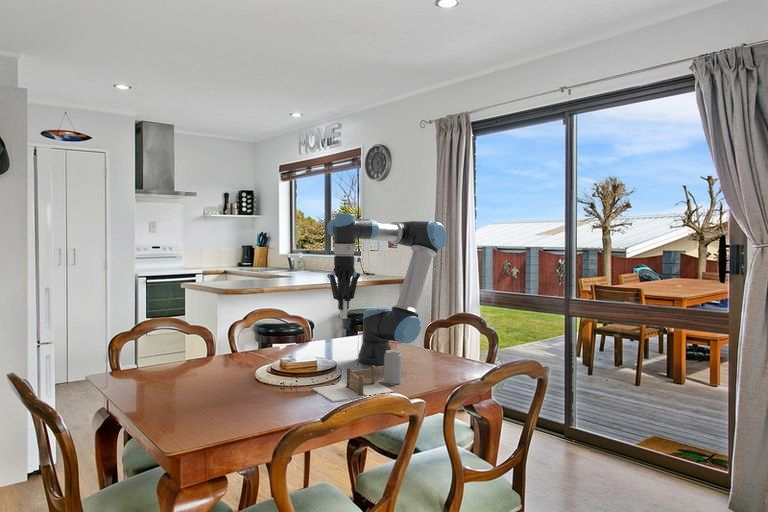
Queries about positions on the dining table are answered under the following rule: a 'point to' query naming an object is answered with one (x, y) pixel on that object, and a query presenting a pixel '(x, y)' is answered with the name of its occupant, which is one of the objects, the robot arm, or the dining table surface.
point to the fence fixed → (367, 373)
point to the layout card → (349, 391)
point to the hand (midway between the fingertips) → (343, 318)
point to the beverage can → (392, 367)
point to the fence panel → (356, 383)
